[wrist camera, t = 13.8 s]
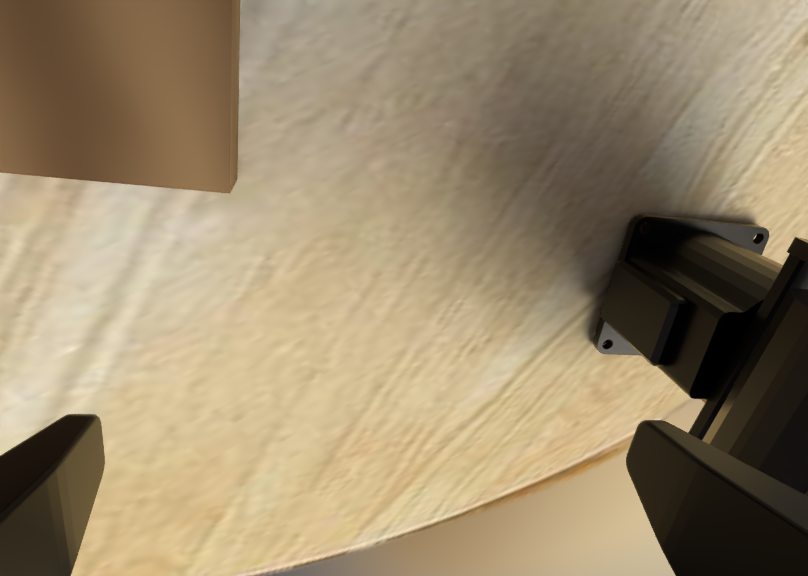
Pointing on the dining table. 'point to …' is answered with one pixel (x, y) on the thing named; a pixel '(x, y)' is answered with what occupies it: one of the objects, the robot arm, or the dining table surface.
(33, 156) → the walnut board
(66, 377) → the dining table surface
